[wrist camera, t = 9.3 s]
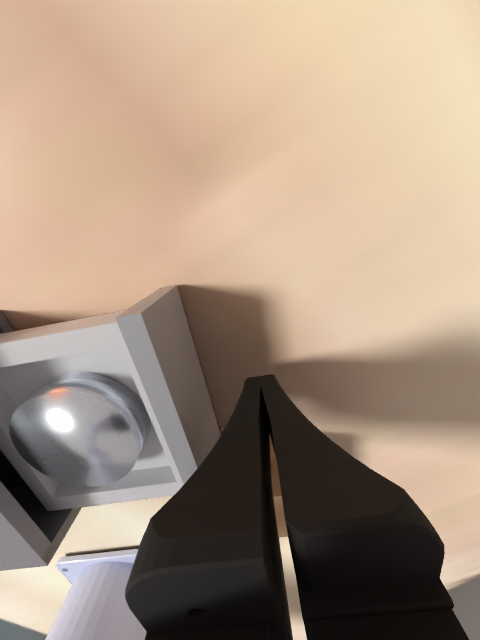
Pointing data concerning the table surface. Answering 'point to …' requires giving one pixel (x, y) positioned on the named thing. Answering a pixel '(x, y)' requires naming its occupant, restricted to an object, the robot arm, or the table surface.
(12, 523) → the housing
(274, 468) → the walnut block
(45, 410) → the disc
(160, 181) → the table surface
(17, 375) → the grey drawer
